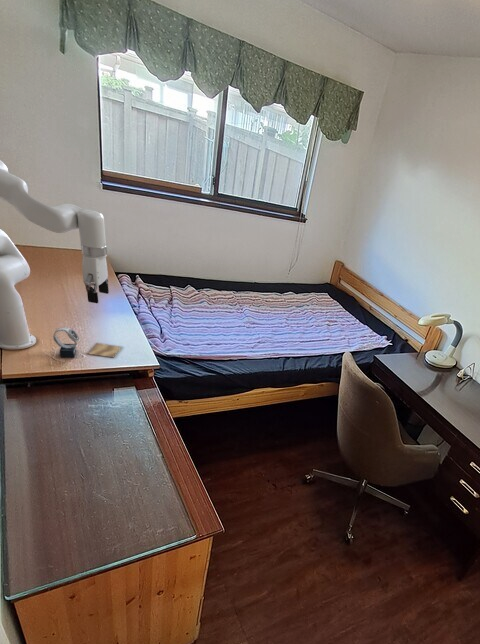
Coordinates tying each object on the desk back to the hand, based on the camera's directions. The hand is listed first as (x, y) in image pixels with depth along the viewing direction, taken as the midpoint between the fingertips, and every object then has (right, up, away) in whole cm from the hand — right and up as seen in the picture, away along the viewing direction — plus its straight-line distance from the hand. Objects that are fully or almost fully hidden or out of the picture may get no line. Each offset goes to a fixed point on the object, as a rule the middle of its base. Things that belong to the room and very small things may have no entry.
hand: (98, 297), depth 140 cm
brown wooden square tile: (-8, -17, +18) cm, 26 cm away
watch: (-18, -20, +10) cm, 29 cm away
